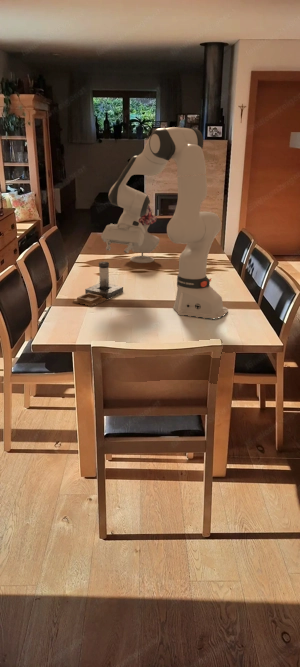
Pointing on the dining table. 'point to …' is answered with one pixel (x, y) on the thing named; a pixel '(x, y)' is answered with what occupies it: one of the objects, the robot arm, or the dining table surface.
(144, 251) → the beige curvy piece
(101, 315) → the dining table surface
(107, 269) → the lidded glass canister
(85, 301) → the square wooden tray
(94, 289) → the socket block
